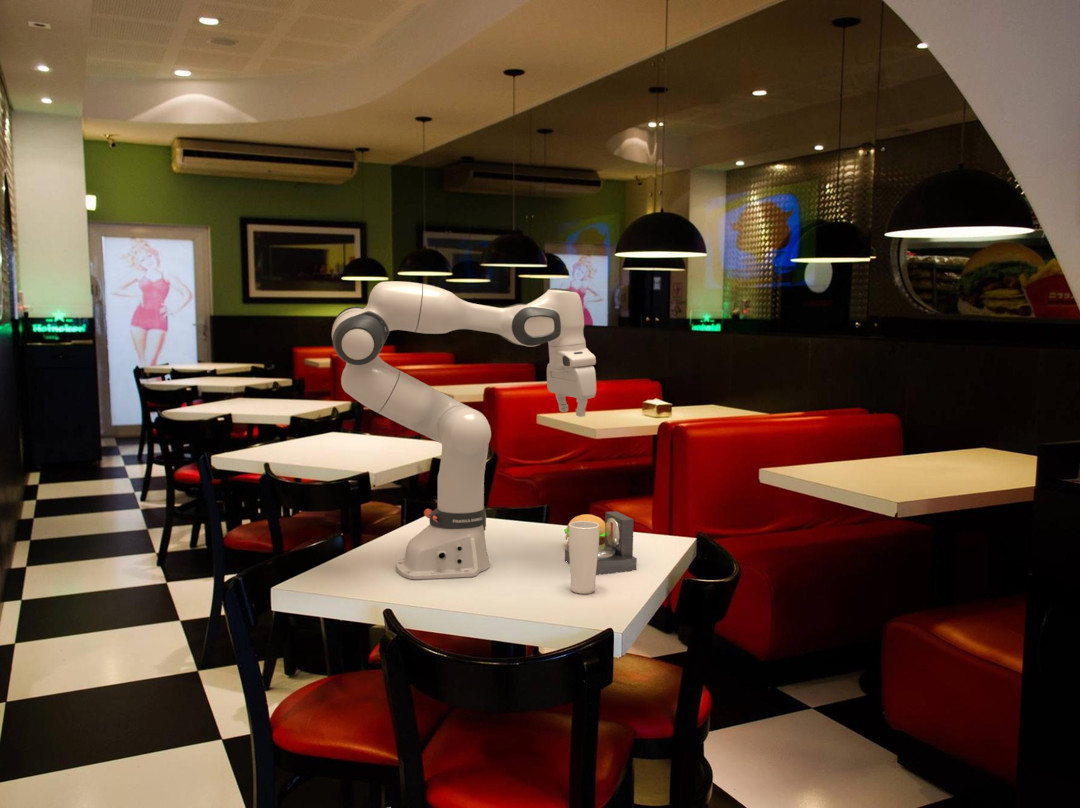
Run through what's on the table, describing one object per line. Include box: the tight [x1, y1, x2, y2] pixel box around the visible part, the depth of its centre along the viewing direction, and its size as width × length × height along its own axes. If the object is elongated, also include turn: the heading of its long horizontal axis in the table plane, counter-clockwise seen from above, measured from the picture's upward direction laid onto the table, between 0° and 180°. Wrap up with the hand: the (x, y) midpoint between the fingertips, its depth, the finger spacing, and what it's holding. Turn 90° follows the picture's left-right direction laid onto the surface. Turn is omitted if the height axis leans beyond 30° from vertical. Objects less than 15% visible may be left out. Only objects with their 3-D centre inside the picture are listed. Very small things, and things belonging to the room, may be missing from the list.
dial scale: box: [564, 510, 637, 576], centre depth 205 cm, size 13×13×12 cm
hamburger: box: [563, 513, 605, 547], centre depth 222 cm, size 12×12×9 cm
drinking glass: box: [567, 521, 599, 595], centre depth 186 cm, size 7×7×15 cm
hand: (572, 413), depth 203 cm, fingers open, 8 cm apart
